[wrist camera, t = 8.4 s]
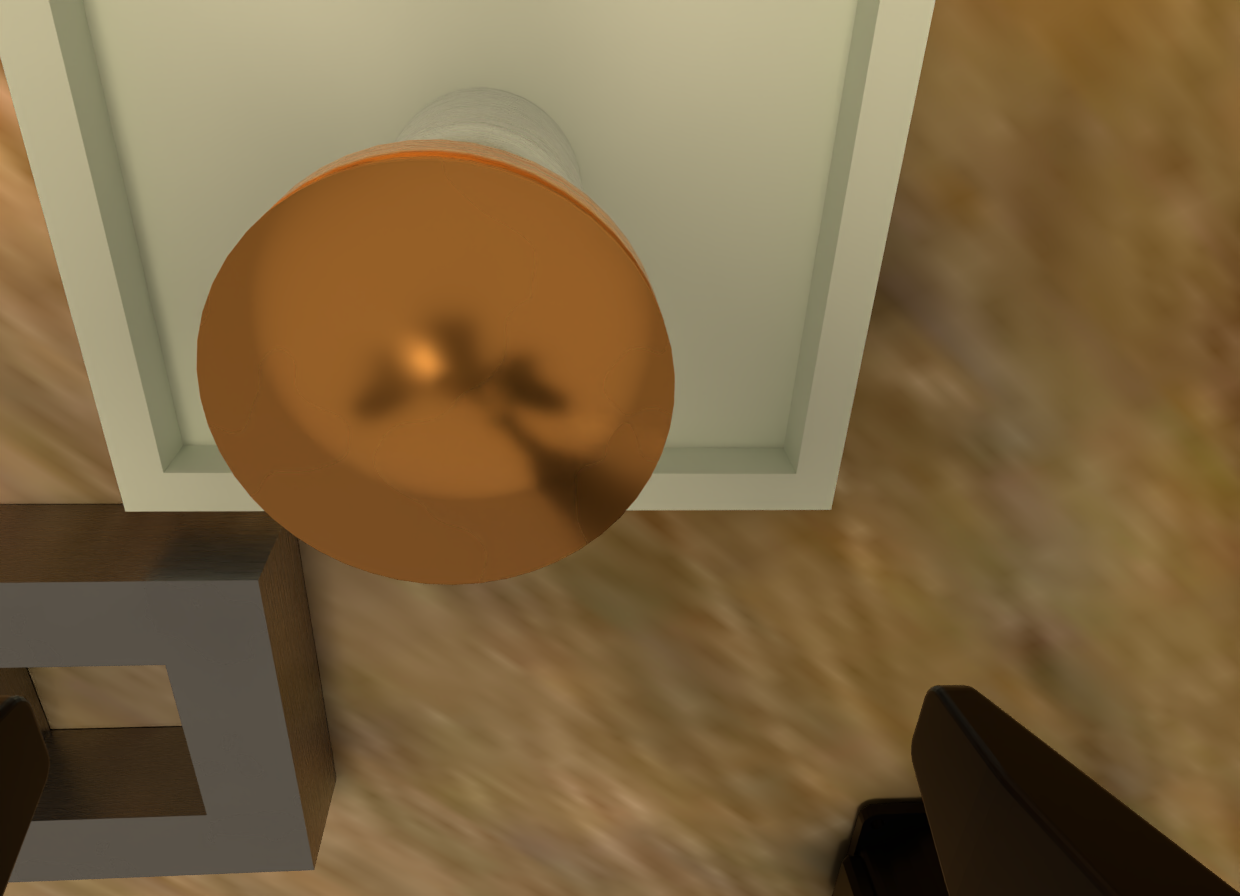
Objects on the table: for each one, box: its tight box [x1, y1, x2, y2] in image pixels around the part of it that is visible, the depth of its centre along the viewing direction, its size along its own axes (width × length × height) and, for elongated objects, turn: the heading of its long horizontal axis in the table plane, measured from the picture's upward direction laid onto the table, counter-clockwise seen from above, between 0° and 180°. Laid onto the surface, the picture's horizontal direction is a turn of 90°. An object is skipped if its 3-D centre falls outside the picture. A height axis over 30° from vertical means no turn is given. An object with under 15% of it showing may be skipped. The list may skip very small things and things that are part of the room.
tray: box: [0, 0, 935, 512], centre depth 17 cm, size 16×14×2 cm
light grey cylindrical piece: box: [196, 87, 675, 585], centre depth 13 cm, size 5×5×10 cm
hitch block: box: [0, 505, 336, 882], centre depth 22 cm, size 10×10×3 cm
